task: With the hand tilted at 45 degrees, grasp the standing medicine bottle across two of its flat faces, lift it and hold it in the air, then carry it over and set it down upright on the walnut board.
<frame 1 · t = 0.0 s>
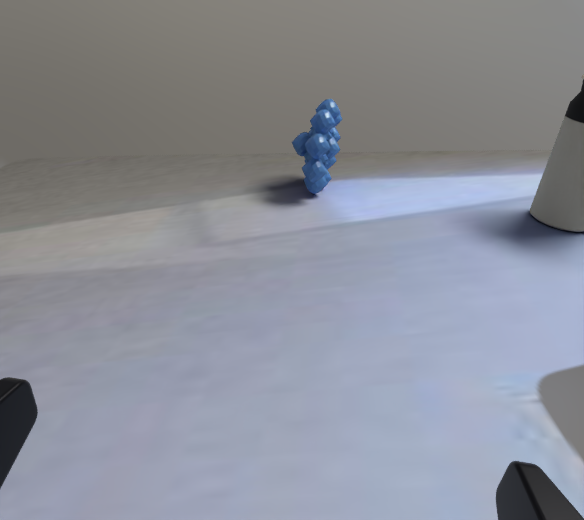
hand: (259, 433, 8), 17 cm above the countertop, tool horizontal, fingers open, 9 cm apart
grapes: (311, 188, 65), on the countertop
travel mug: (559, 221, 61), on the countertop
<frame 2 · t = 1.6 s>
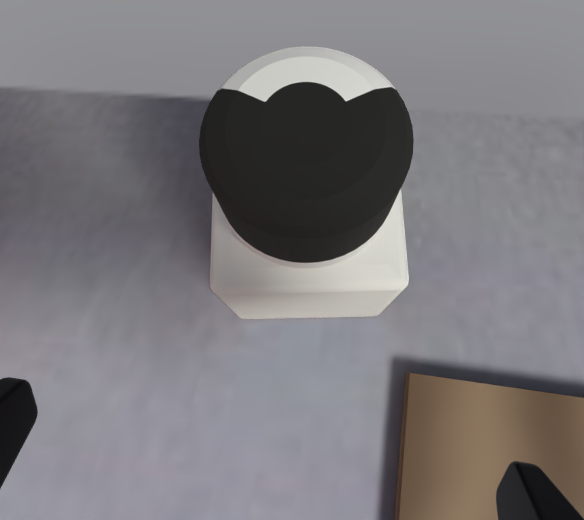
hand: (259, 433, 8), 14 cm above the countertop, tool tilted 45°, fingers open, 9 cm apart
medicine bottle: (307, 251, 24), on the countertop
walnut board: (521, 518, 20), on the countertop
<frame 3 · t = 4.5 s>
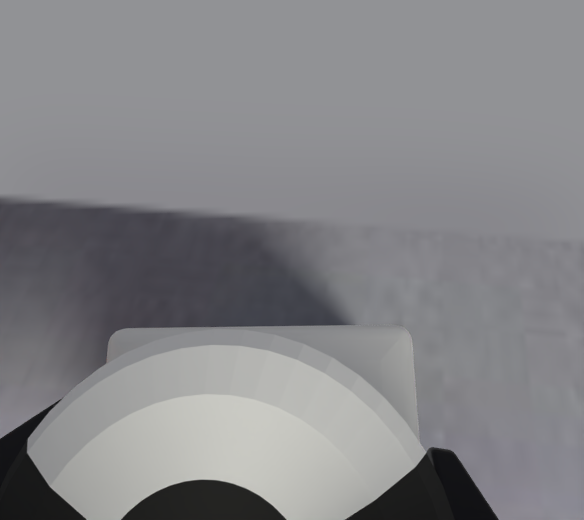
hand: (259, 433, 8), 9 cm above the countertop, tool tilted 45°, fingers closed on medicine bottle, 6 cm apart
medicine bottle: (279, 446, 17), on the countertop, touching gripper
when the fingers open (11 cm above the countertop, at t = 9.7 s): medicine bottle drops 1 cm, resting on walnut board.
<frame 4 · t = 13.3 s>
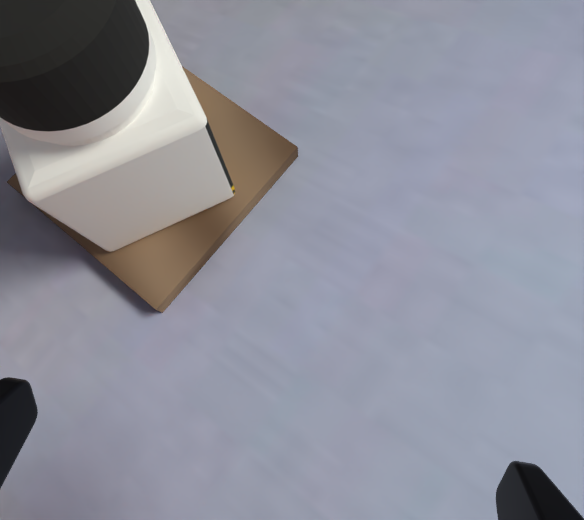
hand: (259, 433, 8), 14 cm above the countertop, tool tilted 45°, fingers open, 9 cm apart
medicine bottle: (151, 170, 24), point 1 cm above the countertop, touching walnut board
walnut board: (157, 173, 25), on the countertop
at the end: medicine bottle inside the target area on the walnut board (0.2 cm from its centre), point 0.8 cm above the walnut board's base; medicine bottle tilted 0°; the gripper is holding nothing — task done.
